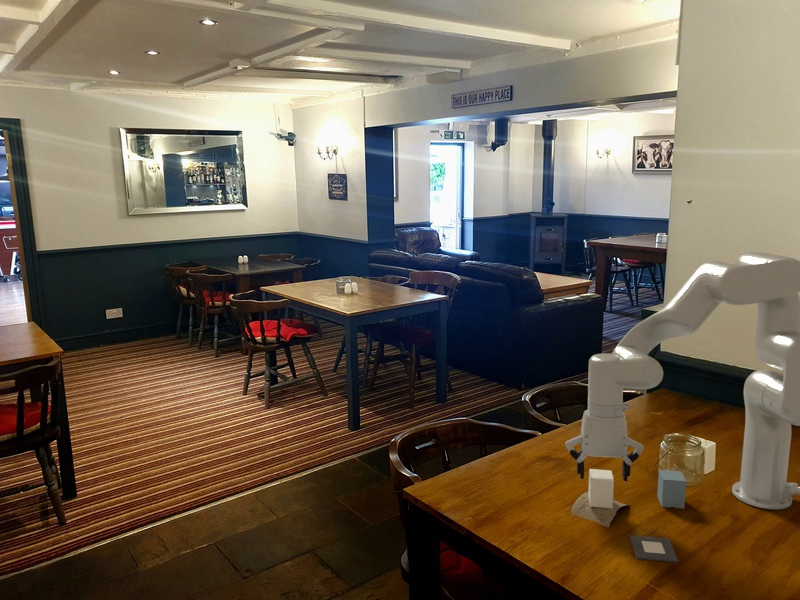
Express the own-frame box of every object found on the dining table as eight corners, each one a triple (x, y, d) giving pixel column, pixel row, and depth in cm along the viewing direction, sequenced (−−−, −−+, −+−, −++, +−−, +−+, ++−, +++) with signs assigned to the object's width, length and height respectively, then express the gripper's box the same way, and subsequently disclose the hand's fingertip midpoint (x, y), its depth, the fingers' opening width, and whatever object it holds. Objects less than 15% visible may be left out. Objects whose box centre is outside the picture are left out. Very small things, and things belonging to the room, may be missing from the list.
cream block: (610, 497, 148) (611, 470, 146) (612, 508, 143) (613, 480, 142) (588, 495, 149) (589, 468, 147) (589, 506, 144) (591, 478, 143)
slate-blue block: (679, 498, 151) (680, 471, 149) (684, 508, 146) (686, 481, 145) (657, 496, 152) (658, 469, 150) (661, 506, 147) (663, 479, 146)
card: (668, 540, 133) (669, 538, 133) (678, 562, 125) (678, 560, 125) (629, 537, 135) (629, 534, 135) (636, 558, 127) (636, 556, 127)
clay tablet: (607, 532, 138) (608, 521, 137) (565, 517, 144) (566, 506, 144) (632, 506, 148) (632, 496, 148) (592, 493, 155) (592, 483, 155)
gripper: (641, 403, 143) (639, 472, 147) (564, 401, 147) (563, 468, 150) (648, 415, 136) (645, 487, 139) (566, 412, 140) (565, 483, 143)
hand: (603, 477), depth 145 cm, fingers open, 9 cm apart
